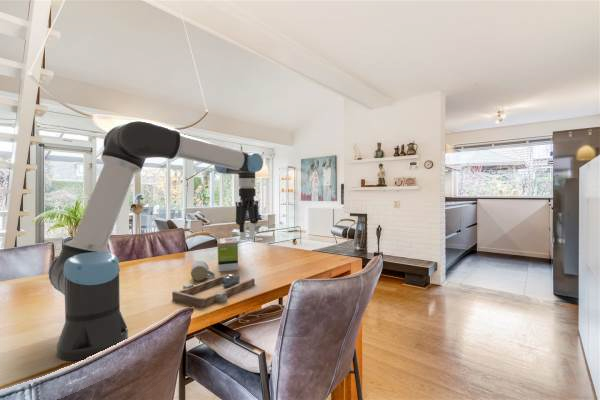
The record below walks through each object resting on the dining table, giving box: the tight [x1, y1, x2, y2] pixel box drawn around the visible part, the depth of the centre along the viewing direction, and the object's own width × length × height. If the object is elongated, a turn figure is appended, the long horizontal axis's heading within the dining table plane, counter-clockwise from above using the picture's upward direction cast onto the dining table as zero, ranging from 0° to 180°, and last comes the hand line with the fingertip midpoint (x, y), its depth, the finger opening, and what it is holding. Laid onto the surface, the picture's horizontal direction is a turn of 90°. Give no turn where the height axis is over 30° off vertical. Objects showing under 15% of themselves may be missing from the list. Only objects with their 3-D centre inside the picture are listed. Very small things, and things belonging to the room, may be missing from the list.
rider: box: [222, 273, 241, 289], centre depth 124 cm, size 7×7×5 cm
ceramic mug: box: [190, 260, 216, 282], centre depth 134 cm, size 11×8×8 cm
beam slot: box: [171, 273, 255, 309], centre depth 117 cm, size 29×20×3 cm
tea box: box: [216, 237, 239, 272], centre depth 155 cm, size 15×10×15 cm, turn 17°
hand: (247, 238), depth 134 cm, fingers open, 6 cm apart
